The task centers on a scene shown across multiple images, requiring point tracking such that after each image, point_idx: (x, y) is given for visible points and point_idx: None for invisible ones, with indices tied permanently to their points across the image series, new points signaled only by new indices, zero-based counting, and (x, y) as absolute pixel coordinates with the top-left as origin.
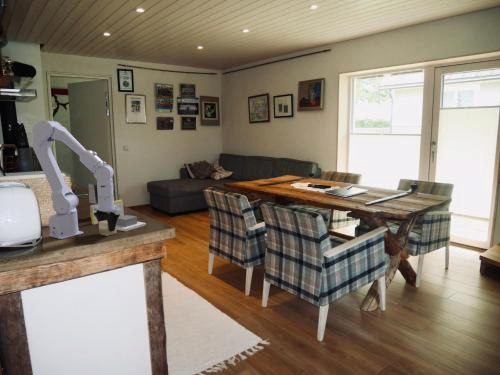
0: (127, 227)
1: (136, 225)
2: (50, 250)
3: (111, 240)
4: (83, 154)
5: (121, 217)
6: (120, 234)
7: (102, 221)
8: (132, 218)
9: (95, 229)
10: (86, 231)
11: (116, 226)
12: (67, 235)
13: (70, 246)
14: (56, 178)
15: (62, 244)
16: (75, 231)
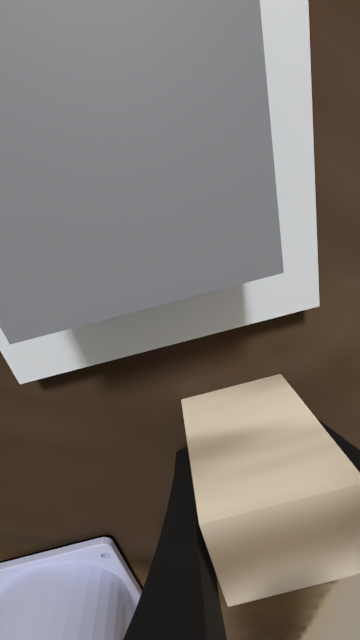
0: (283, 256)
1: (295, 97)
2: (285, 636)
3: None
4: None
5: (40, 250)
6: (343, 366)
7: (248, 583)
8: (259, 68)
9: (32, 457)
10: (56, 510)
11: (142, 332)
12: (128, 607)
13: (302, 594)
14: None
15: (242, 610)
16: (116, 600)
